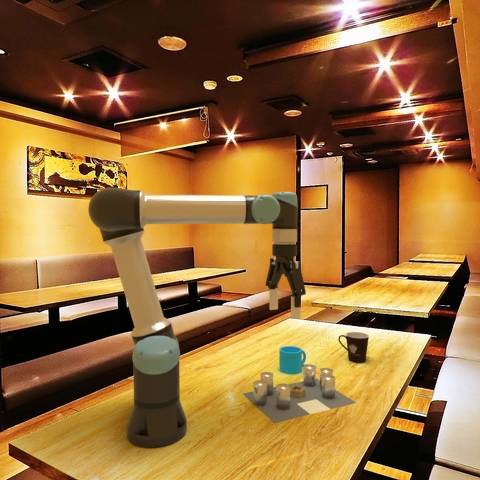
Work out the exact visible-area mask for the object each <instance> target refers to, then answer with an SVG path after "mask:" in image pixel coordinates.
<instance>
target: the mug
mask: <svg viewBox="0 0 480 480" xmlns="http://www.w3.org/2000/svg"><path fill="white" fill-rule="evenodd" d="M278 352H279V358H278V359H279V366H278V368H279V369H278V370H279V371H280V373H282V374H285V375H298V374H300V373H302V372H303V366H304V365H305V362H306V359H307V354H306V351H305V350H303V349H302V348H301V347H298V346H295V345H293V346H292V345H286V346H285V345H284V346H282V347H280V348H279V351H278Z"/></svg>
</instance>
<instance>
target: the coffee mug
mask: <svg viewBox="0 0 480 480" xmlns="http://www.w3.org/2000/svg"><path fill="white" fill-rule="evenodd" d="M342 337H343V338H345V340H346V346H347V347H346V346H345V345H344V344H343V343H342V341H341V338H342ZM369 337H370V335H369V334H367V333H365V332H359V331H357V332H356V331H351V332H346V333H345V335H344V334H342V335H339V336H338V339H337V340H338V342H339V344H340V345H341V346H342V347H343V348H344V349H345V350H346V351H347V356H348V357H347V358H348V361H349V362H350V363H355V364H364V363H366V360H367V353H368V352H367V351H368V346H369Z"/></svg>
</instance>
